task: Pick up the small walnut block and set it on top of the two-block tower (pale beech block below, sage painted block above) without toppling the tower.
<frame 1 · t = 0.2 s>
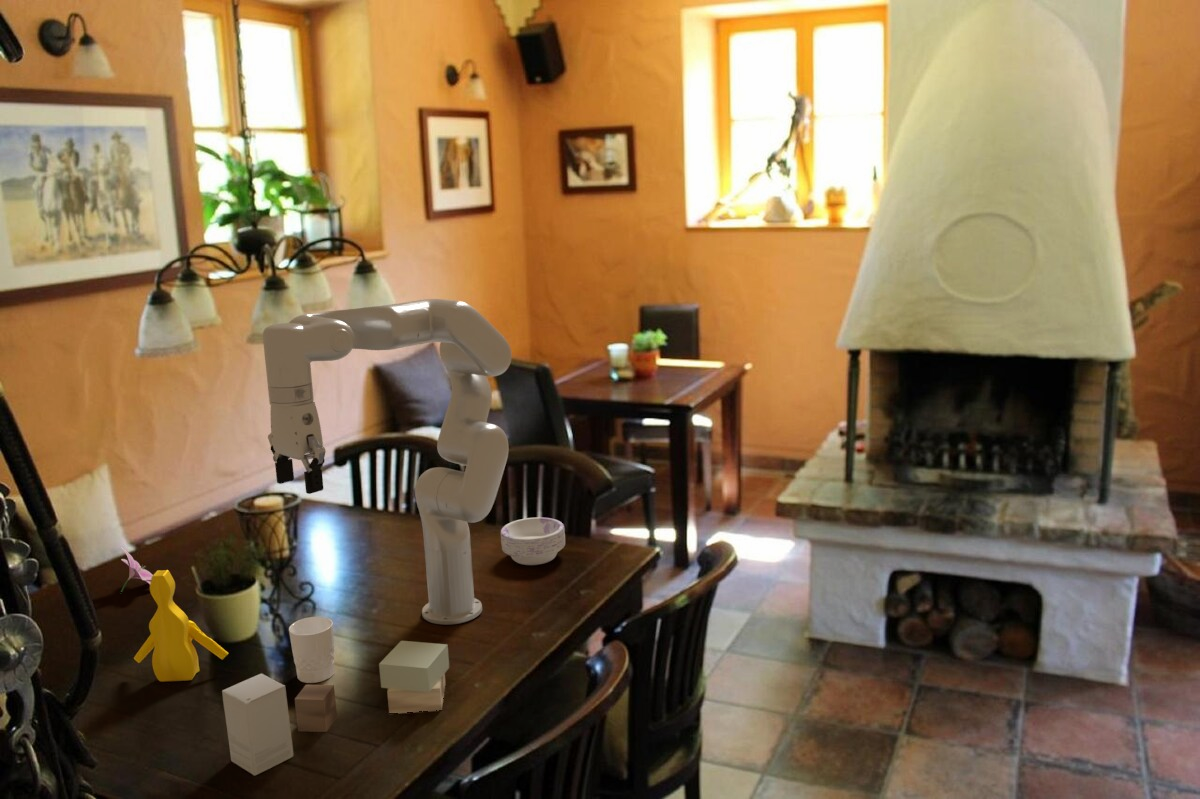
hand: (300, 486, 188), 37 cm above the table, tool pointing down, fingers open, 9 cm apart
base block: (418, 700, 185), on the table, touching top block
white cup: (316, 675, 196), on the table
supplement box: (262, 759, 168), on the table
lily: (140, 590, 239), on the table
paper bowls: (534, 559, 249), on the table
top block: (415, 677, 184), point 4 cm above the table, touching base block
walnut block: (317, 723, 178), on the table
figure statuette: (180, 678, 197), on the table
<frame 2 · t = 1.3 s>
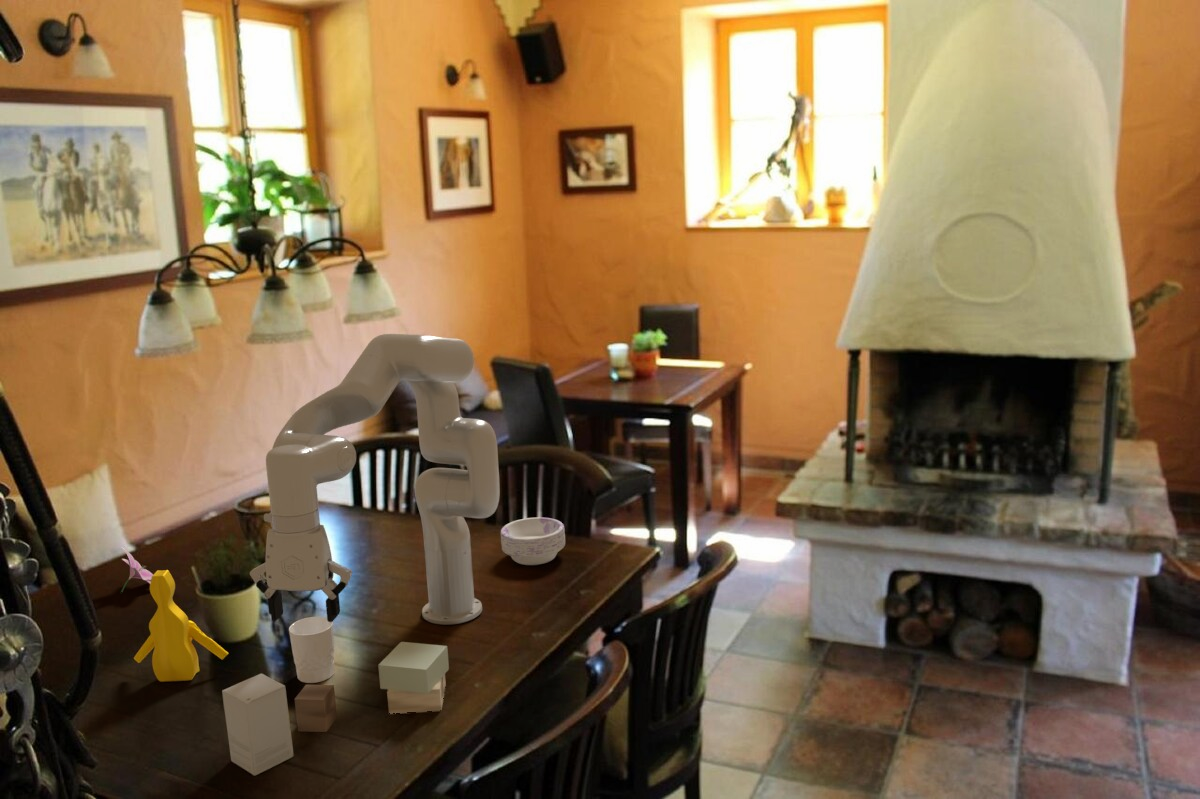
hand: (305, 618, 174), 19 cm above the table, tool pointing down, fingers open, 9 cm apart
base block: (418, 701, 185), on the table
top block: (415, 678, 184), point 4 cm above the table
everything else where it was.
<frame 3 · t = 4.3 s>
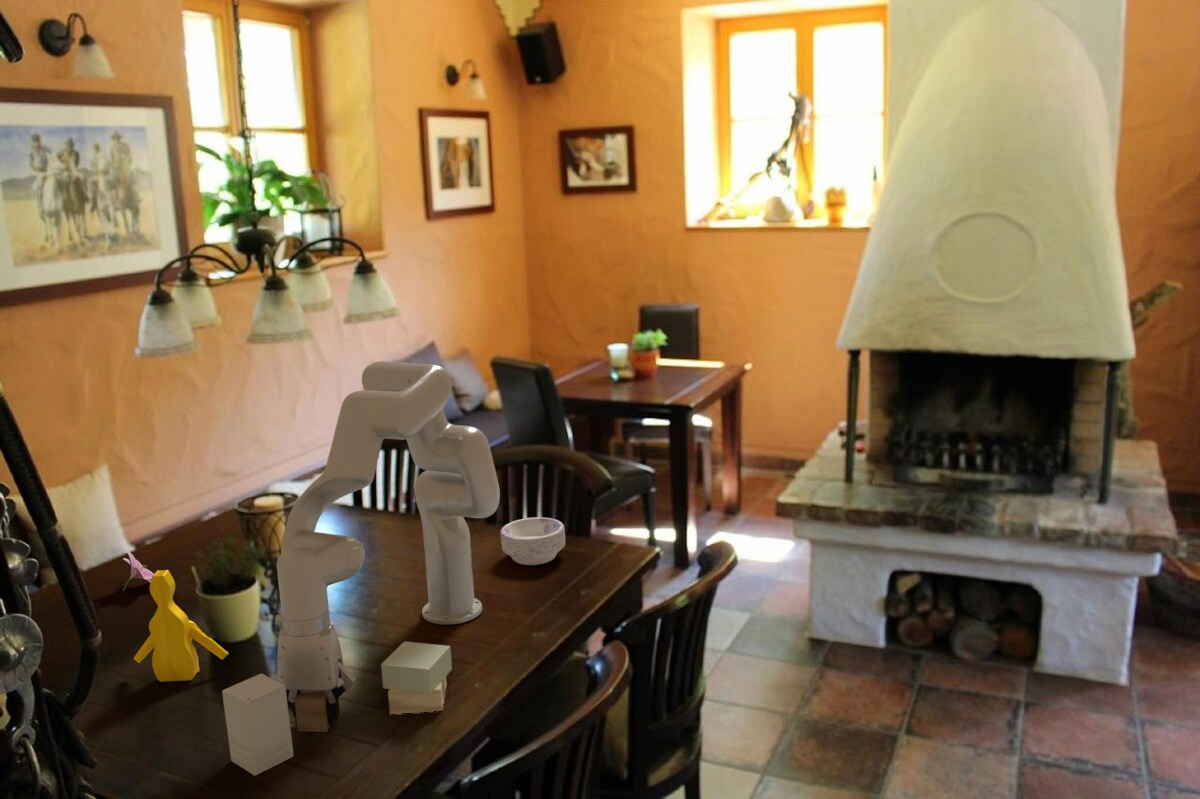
hand: (317, 719, 178), 1 cm above the table, tool pointing down, fingers closed on walnut block, 5 cm apart
base block: (419, 701, 185), on the table, touching top block
top block: (418, 678, 184), point 4 cm above the table, touching base block
walnut block: (317, 723, 178), on the table, touching gripper
everything else where it was.
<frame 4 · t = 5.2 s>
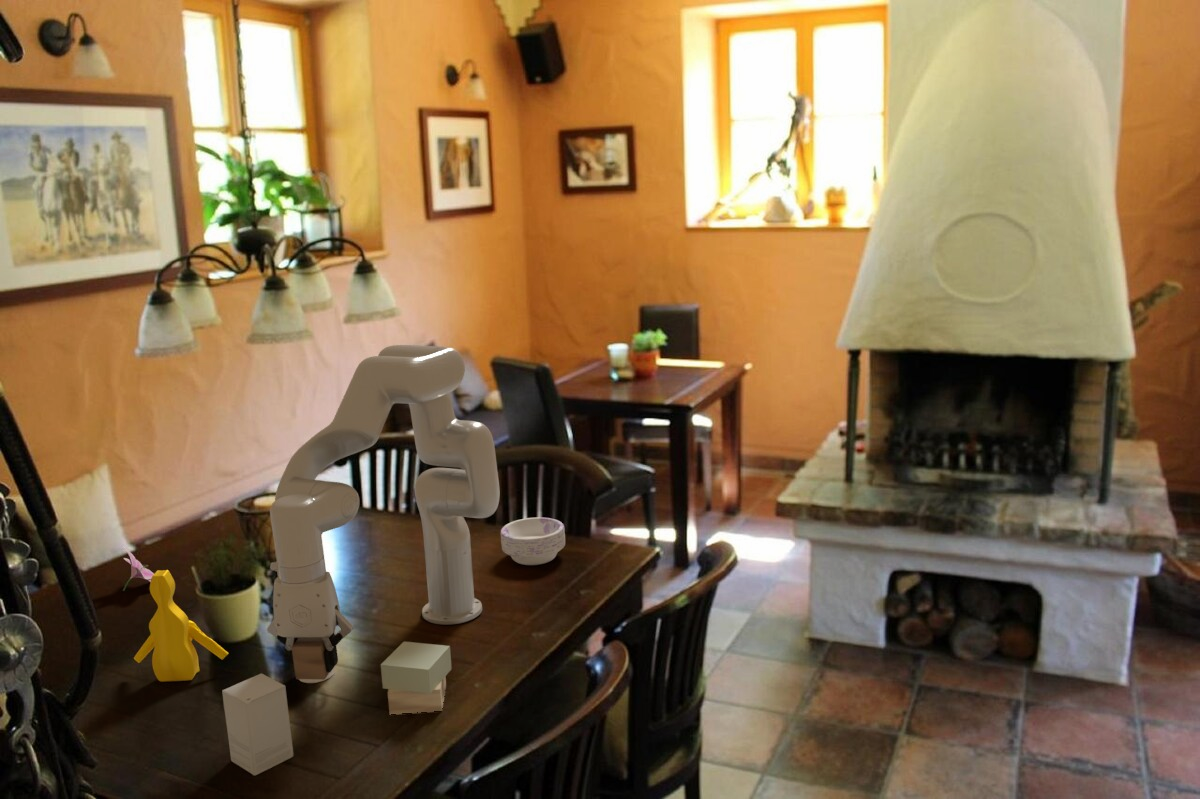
hand: (315, 667, 177), 10 cm above the table, tool pointing down, fingers closed on walnut block, 5 cm apart
walnut block: (315, 671, 177), point 9 cm above the table, touching gripper
everything else where it was.
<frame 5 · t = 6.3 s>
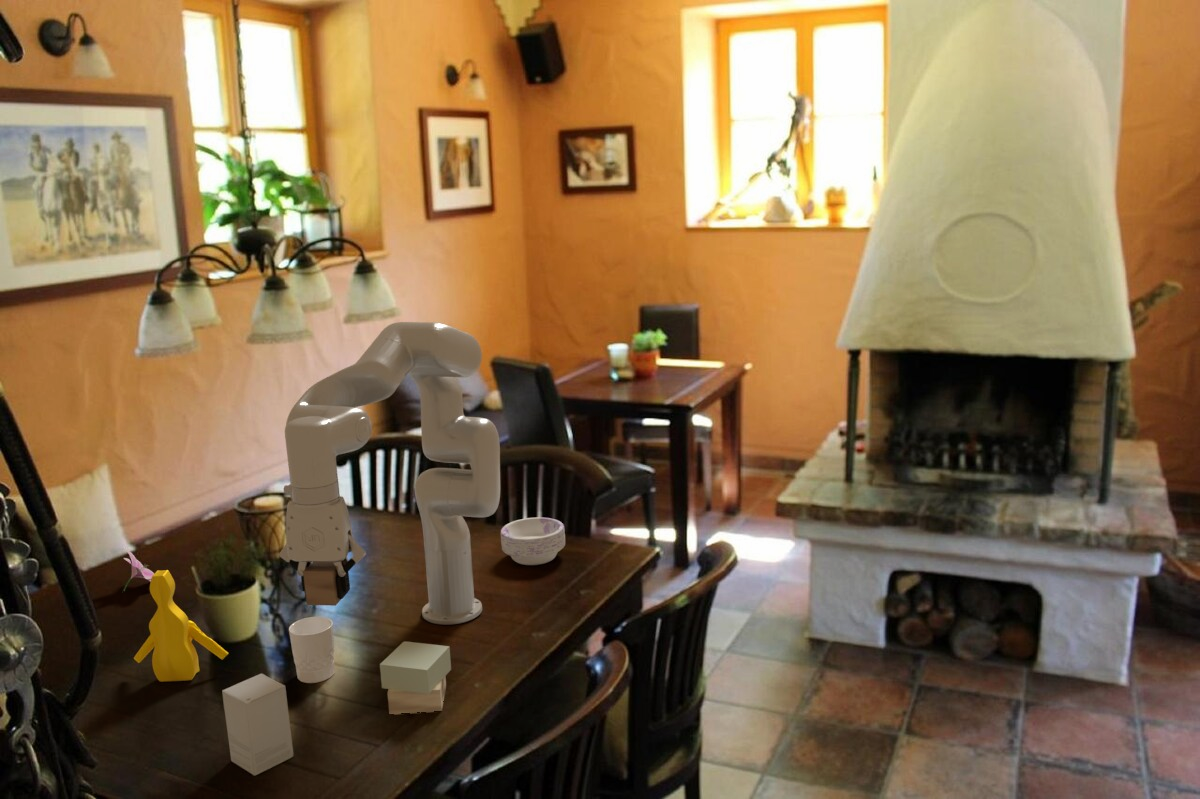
hand: (326, 594, 175), 23 cm above the table, tool pointing down, fingers closed on walnut block, 5 cm apart
walnut block: (327, 598, 175), point 22 cm above the table, touching gripper
everything else where it was.
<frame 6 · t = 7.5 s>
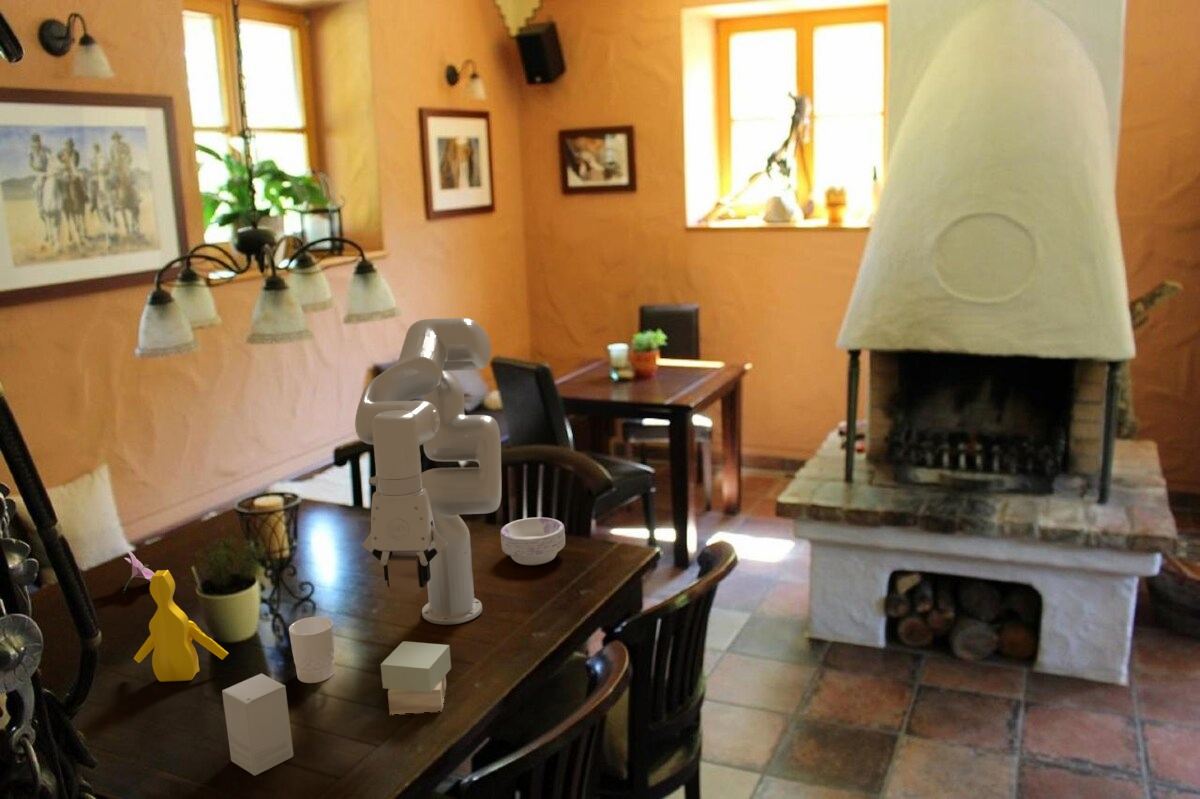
hand: (408, 583, 180), 22 cm above the table, tool pointing down, fingers closed on walnut block, 5 cm apart
walnut block: (408, 587, 180), point 21 cm above the table, touching gripper
everything else where it was.
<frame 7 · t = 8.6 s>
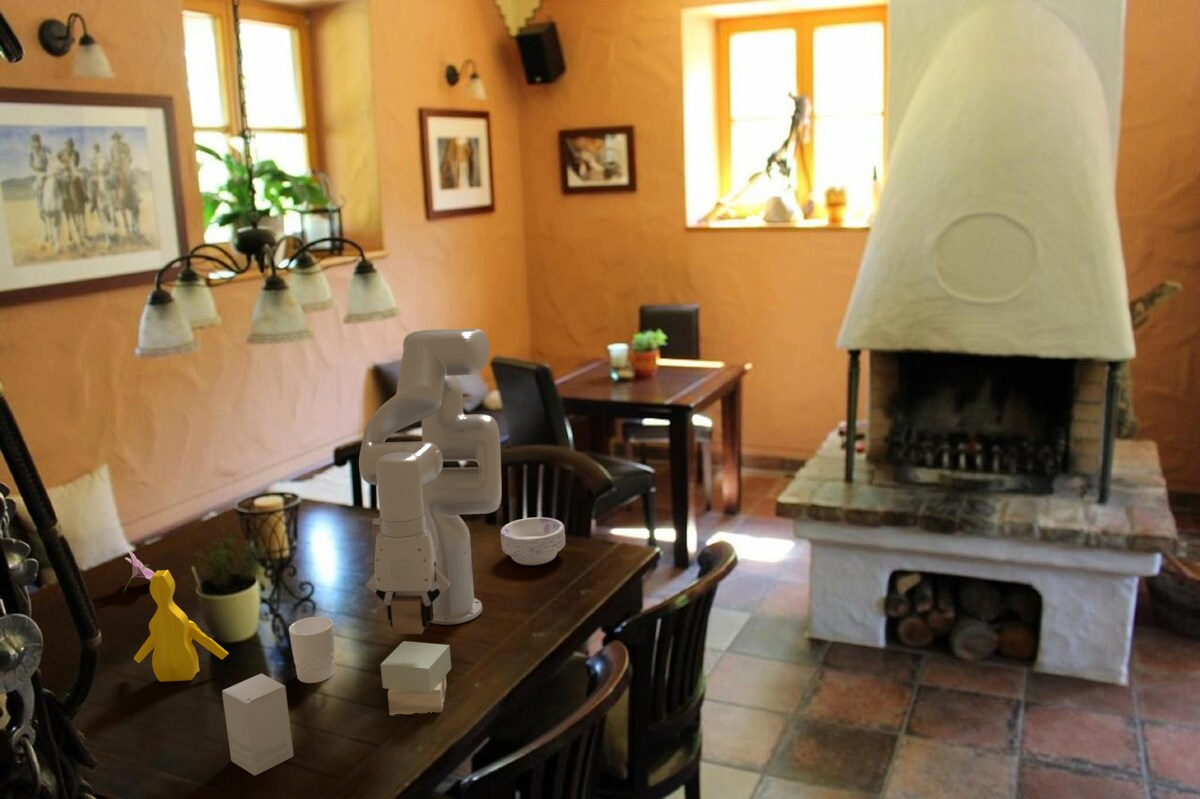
hand: (411, 623, 182), 15 cm above the table, tool pointing down, fingers closed on walnut block, 5 cm apart
walnut block: (411, 627, 182), point 14 cm above the table, touching gripper
everything else where it was.
when the fingers open (11 cm above the table, at t = 10.5 s): walnut block drops 1 cm, point 9 cm above the table.
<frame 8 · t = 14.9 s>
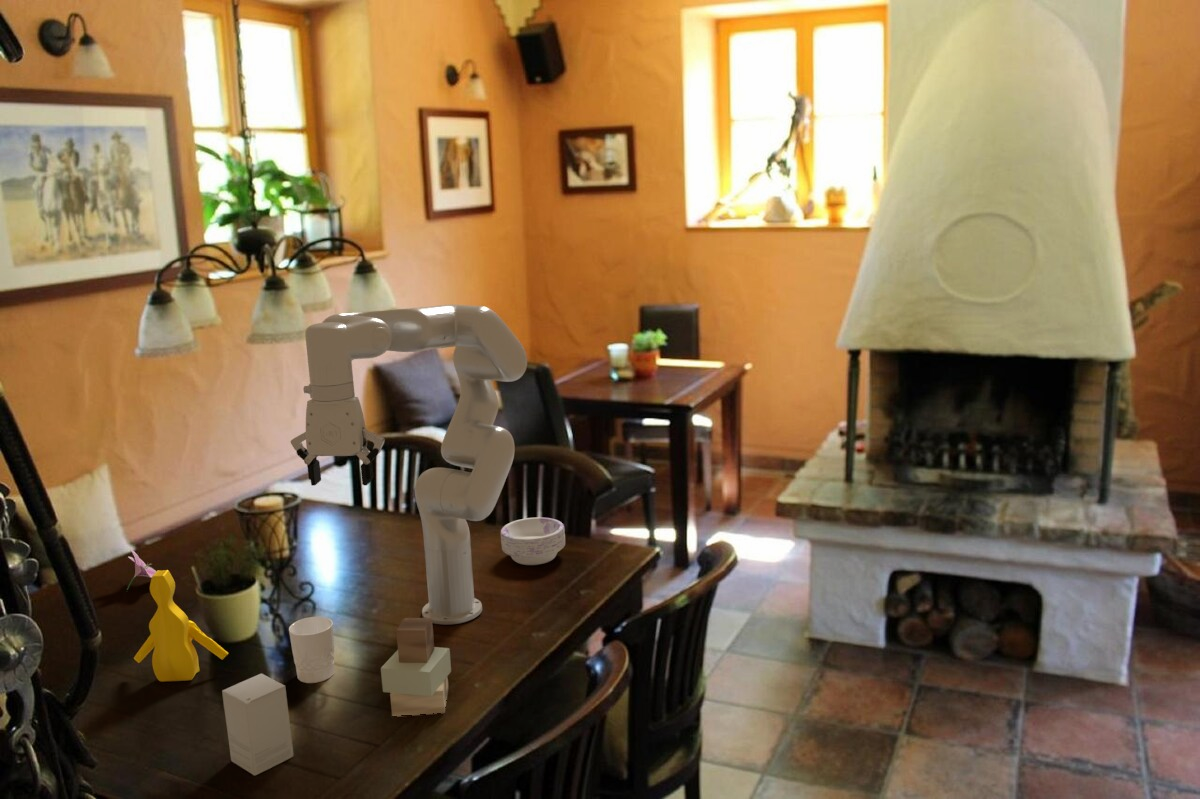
hand: (341, 483, 191), 36 cm above the table, tool pointing down, fingers open, 9 cm apart
base block: (421, 703, 184), on the table
top block: (417, 681, 183), point 4 cm above the table
walnut block: (416, 655, 183), point 9 cm above the table
at the end: walnut block inside the target area on the base block (0.2 cm from its centre), point 9.0 cm above the base block's base; walnut block tilted 0°; top block tilted 0° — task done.
